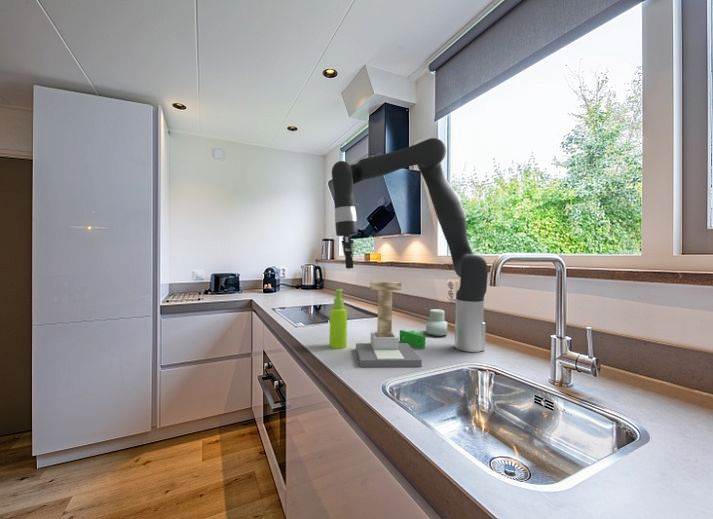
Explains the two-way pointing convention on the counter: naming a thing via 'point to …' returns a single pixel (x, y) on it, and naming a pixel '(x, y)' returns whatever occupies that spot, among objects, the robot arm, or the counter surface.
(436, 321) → the air freshener
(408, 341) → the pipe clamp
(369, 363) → the grey base plate
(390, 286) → the T-key
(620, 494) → the counter surface
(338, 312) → the soap dispenser
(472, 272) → the robot arm
